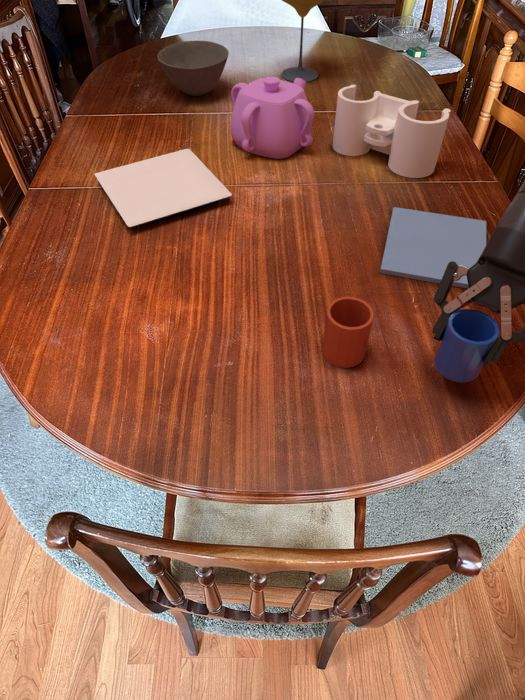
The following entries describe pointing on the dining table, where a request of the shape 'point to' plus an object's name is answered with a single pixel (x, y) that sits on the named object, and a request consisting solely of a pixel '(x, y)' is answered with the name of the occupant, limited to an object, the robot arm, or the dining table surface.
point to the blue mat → (431, 245)
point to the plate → (161, 187)
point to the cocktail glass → (302, 4)
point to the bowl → (194, 65)
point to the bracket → (388, 131)
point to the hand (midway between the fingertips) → (461, 351)
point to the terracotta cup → (347, 331)
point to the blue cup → (465, 345)
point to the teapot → (271, 117)
